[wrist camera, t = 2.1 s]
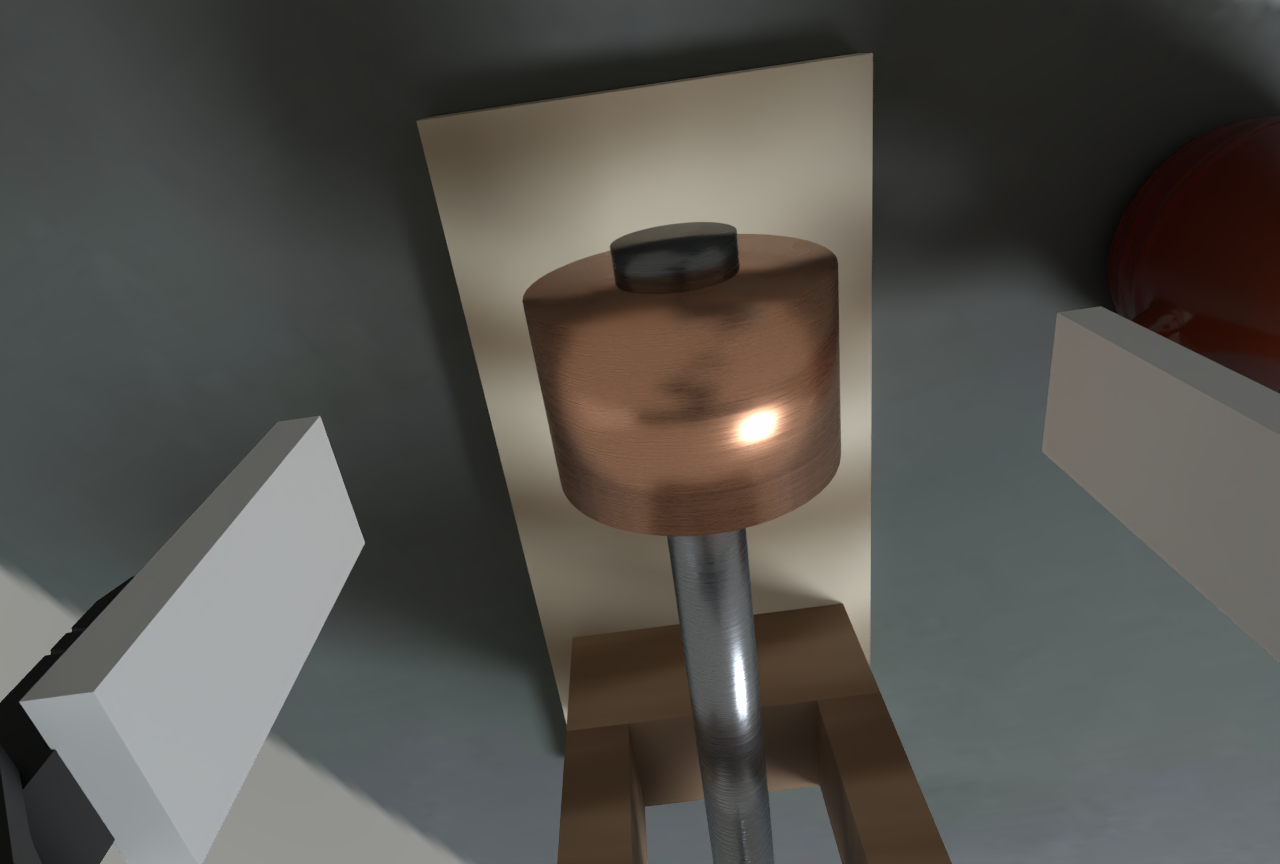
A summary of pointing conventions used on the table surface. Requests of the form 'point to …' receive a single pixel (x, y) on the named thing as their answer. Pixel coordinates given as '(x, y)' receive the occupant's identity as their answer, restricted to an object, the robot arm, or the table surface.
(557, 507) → the board
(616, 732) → the eye block
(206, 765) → the robot arm
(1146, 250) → the mug
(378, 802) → the table surface
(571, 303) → the copper and grey mallet
